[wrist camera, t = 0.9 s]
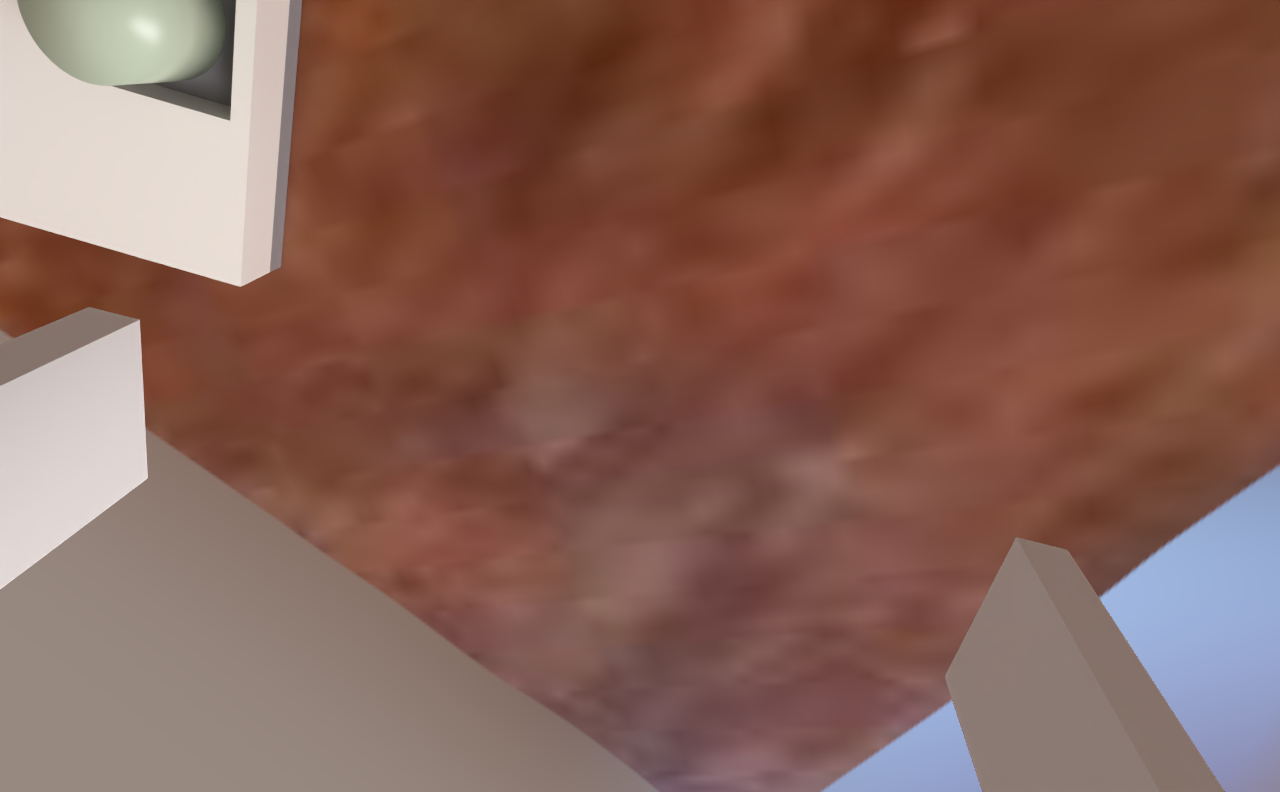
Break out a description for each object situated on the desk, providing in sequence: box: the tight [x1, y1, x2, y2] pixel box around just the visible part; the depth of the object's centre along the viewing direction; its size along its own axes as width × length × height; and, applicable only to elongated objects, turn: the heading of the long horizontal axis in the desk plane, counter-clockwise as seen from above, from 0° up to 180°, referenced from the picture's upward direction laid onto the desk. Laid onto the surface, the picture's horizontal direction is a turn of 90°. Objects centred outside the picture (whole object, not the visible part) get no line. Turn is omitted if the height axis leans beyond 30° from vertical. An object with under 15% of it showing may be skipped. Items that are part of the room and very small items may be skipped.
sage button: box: [17, 0, 226, 86], centre depth 29 cm, size 5×5×4 cm
